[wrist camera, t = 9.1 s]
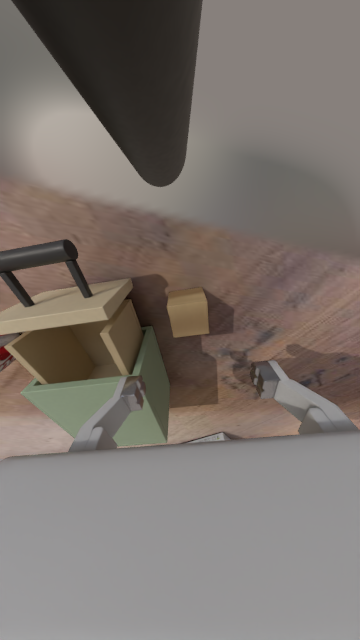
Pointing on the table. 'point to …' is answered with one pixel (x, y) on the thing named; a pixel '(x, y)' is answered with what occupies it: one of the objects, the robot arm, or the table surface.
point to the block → (188, 312)
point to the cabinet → (90, 395)
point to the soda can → (3, 358)
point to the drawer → (69, 321)
